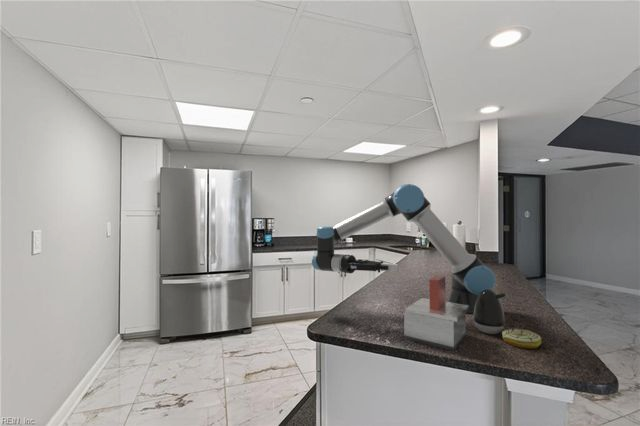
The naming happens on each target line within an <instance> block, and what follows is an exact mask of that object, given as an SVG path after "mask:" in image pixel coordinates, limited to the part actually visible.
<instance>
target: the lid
mask: <svg viewBox="0 0 640 426" xmlns="http://www.w3.org/2000/svg"><path fill="white" fill-rule="evenodd" d="M428 284H429V298H425V297H421V298H419V299H418V300H416V301H415V302H413V303H411V304H410V305H408V306H407V307H405V311H404V312H409V313H414V314H419V315H425V316H430V317H435V318H440V319H445V320H451V321H456V322H458V320H459V319H460V318H461V317H462V316H463V315H464V314H465V313H466V312H467V311H468V310H469V305H464V304H457V303H451V302H448V301H446V299H447V297H446V295H447V294H446V276H445V275H444V276H443V275H435V276H433V277H430V279H429V283H428Z"/></svg>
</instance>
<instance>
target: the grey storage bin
mask: <svg viewBox="0 0 640 426" xmlns="http://www.w3.org/2000/svg"><path fill="white" fill-rule="evenodd" d="M403 314H404V316H403V318H404V320H403V321H404V324H403V325H404V328H403V329H404V331H403V332H404V336H403V337H404V339H406V340H410V341H414V342H418V343H422V344H427V345H429V346H435V347H439V348H443V349H448V350H450V351H455V350H456V349H457V347H458V345H459V344H460V343H461V342H462V340H463V339H464V337H465V336H466V333H467V332H466V331H467V330H466V329H467V328H466V327H467V326H466V325H467V321H466V318H467V317H466V313H465V314H464V315H463V316H462V317H461V318H460V319H459V320H458V322H456V321H451V320H445V319H440V318H435V317H430V316H425V315H419V314H414V313H409V312H405V311H404V312H403Z"/></svg>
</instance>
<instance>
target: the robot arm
mask: <svg viewBox="0 0 640 426" xmlns="http://www.w3.org/2000/svg"><path fill="white" fill-rule="evenodd" d="M400 214H401V215H402V216H403V217H404V218H405V220H406V221H407V222H411V223H412V222H413V223H414V225H416V227H417V228H418V229H419V230H420V231H421V233H422V234H424V236H425V237H426V238H427V240H429V242H430V243H431V244H432V246H434V247H435V249H436V250H437V251H438V252H439V254H441V256H442V257H443V259H445V260H446V261H447V262H448V264H449V265H450V273H451V275H450V277H451V278H450V283H451V288H450V293H449V296H448V298H447V302H451V303H457V304H464V305H469V310H468V311H467V312H466V313H467V314H473V312H474V307H475V303H476V300H477V298H478V296H479V294H480V293H481V292H482V291H483V290H486V289H489V290H492V291H493V289H494V287H495V286H496V282H497V281H496V280H497V279H496V275H495V273H494V272H493V270H492V269H491V268H489V267H488V266H486V265H485V264H484V263H483V262H482V261H481V259H479V257H478V256H477V255H476V254H473V253H469V252H468V251H467V249H466V248H465V247H464V246H463V245H462V244H461V243H460V241H459V240H458V239H457V238H456V237H455V236H454V235H453V233H452V232H450V230H449V229H448V228H447V227H446V225H445V224H444V223H443V222H442V221H441V219H439V218H438V216H437V215H436V214H435V213H434V211H433V210H432V209H431V203H430V201H429V200H428V199H427V198H426V197H425V194H424V192H423V190H422V189H421V188H420V187H419V186H417V185H415V184H412V183H411V184H410V183H406V184H402V185H400V186H399V187H397V188H396V190H395V191H393V192H392V193H391V194H389V195H388V196H386V197H385V198H383V199H382V201H381V202H379V203H377V204H375V205H373V206H372V207H370V208H367V209H366V210H363V211H361V212H360V213H357V214H356V215H353V216H351V217H350V218H347V219H346V220H344V221H342V222H340V223H338V224H335V225H334V226H318V227H317V229H316V246H317V247H316V248H317V251H316V253H315V254H313V256H312V259H311V265H312V267H313V268H314V270H319V271H322V272H335V273H337V274H341V273H344V274H353V273H354V272H355V271H367V272H377V273H381V271H382V272H391V273H397V272H399V264H397V263H387V262H384V261H383V260H381V261H376V260H369V259H365V260H363V259H356V257H355V256H354V254H340V253H335V244H337V243H338V242H341V241H342V240H344V239H346V238H349V237H350V236H353V235H355V234H357V233H358V232H361V231H363V230H364V229H367V228H368V227H371V226H373V225H374V224H377V223H380V222H381V221H383V220H385V219H387V218H389V217H392V218H394V217H395V216H398V215H400Z"/></svg>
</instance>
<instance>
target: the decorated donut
mask: <svg viewBox="0 0 640 426" xmlns="http://www.w3.org/2000/svg"><path fill="white" fill-rule="evenodd" d="M501 334H502V339H503V341H504V343H507V344H508V345H511V346H514V347H518V348H521V349H530V350H533V349H534V350H536V349H537V348H539V346H541V344H542V337H541V336H540V335H539V334H537V333H535V332H534V331H531V330H526V329H522V328H508V329H504V330H502V331H501Z"/></svg>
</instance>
